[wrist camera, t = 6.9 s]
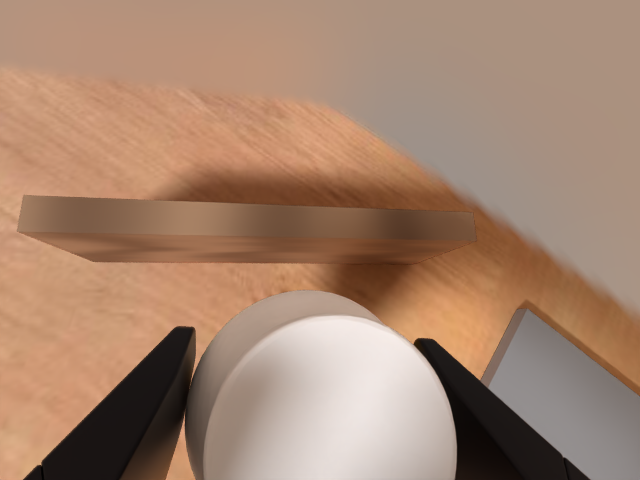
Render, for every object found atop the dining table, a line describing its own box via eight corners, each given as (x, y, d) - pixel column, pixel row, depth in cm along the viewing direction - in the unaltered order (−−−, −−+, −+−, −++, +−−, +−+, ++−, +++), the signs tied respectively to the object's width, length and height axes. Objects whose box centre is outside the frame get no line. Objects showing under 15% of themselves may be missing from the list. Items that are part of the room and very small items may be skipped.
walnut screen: (94, 262, 20) (16, 231, 14) (97, 236, 21) (23, 195, 14) (414, 264, 24) (476, 241, 17) (412, 242, 24) (473, 212, 18)
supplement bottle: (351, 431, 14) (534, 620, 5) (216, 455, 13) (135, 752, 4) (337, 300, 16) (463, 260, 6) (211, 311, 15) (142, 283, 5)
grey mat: (596, 616, 21) (613, 630, 20) (426, 485, 21) (435, 493, 20) (659, 420, 25) (675, 424, 24) (516, 309, 25) (527, 308, 24)
